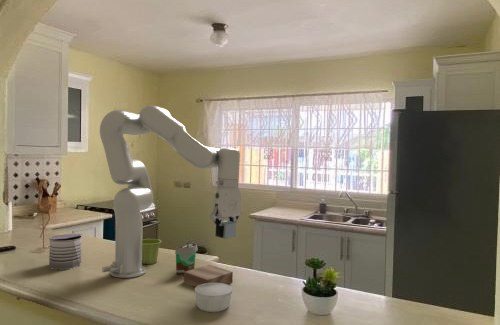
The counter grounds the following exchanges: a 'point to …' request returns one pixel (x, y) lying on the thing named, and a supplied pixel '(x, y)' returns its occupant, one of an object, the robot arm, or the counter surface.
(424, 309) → the counter surface
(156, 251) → the plant pot
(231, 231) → the slate block
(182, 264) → the food container
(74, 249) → the can
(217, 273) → the walnut block
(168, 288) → the counter surface
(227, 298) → the ramekin
